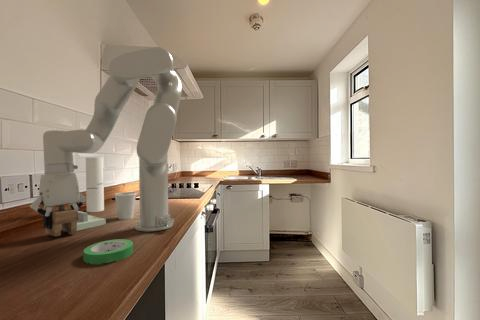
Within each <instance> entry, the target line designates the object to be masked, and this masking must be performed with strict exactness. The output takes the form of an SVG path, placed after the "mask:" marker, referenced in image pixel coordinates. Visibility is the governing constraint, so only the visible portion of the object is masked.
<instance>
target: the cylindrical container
mask: <svg viewBox="0 0 480 320" xmlns="http://www.w3.org/2000/svg"><path fill="white" fill-rule="evenodd" d="M104 185H105V184H104V157H102V156H101V157H100V156H99V157H96V156H95V157H92V156H91V157H85V187H86V189H85V192H86V196H85V197H87V200H86V201H85V203H86V213H98V212H103V211H105V195H104V194H105V191H104V190H105V189H104V187H105V186H104Z"/></svg>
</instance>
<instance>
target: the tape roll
mask: <svg viewBox="0 0 480 320" xmlns="http://www.w3.org/2000/svg"><path fill="white" fill-rule="evenodd" d="M133 242H134V241H132V240H130V239H124V238H123V239H122V238H121V239H118V238H117V239H116V238H115V239H109V240H108V239H107V240H104V241H103V240H102V241H99V242H95V243H93V244H90V245H87V247H85V248H84V249H83V252H82V253H83V254H82V255H83V257H82V258H83V262H84V263H85V262H86V263H85V264H88V263H90V264H89V265H103V264H102V263H108V264H110V263H109V262H113V261H117V260H120V261H122V260H121V259H123V258H125V259H127V258H126V257H128V256H129V257H131V256H132V255H133V254H134V243H133ZM108 250H109V251H108ZM132 253H133V254H132ZM131 254H132V255H131ZM130 255H131V256H130ZM129 257H128V258H129ZM123 260H124V259H123ZM117 262H118V261H117ZM113 263H114V262H113Z"/></svg>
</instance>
